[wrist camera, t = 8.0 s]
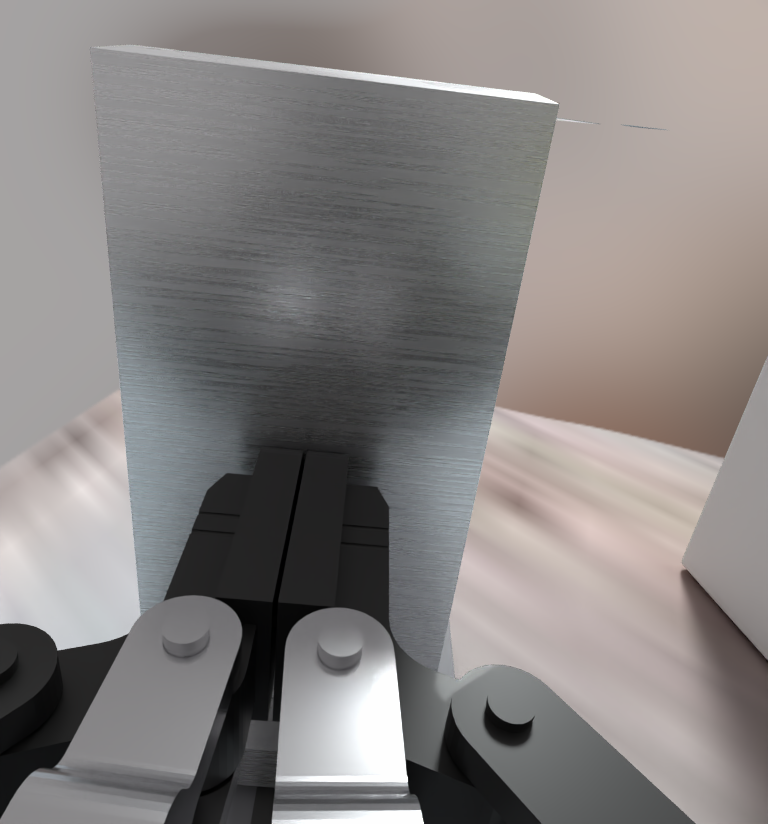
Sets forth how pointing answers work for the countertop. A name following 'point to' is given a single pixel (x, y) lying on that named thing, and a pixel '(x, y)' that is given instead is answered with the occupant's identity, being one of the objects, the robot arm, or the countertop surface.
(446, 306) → the fader tab
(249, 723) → the robot arm
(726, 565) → the milk carton
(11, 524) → the countertop surface
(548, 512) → the countertop surface
